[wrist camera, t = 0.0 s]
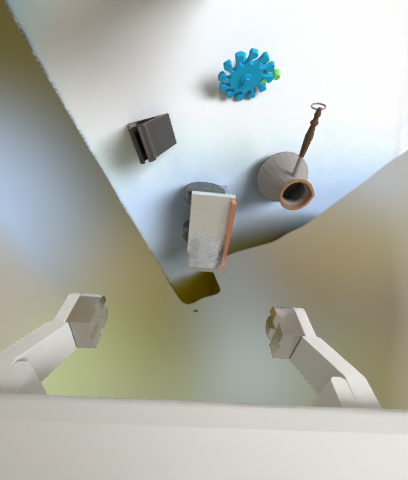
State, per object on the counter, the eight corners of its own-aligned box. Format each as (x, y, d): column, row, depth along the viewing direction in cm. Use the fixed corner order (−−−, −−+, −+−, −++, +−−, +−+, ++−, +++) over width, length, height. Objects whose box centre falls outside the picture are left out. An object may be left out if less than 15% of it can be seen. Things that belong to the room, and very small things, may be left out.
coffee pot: (297, 196, 60) (323, 226, 48) (252, 196, 60) (265, 227, 48) (319, 97, 48) (360, 103, 36) (262, 97, 48) (283, 104, 36)
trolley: (187, 175, 57) (182, 206, 43) (230, 179, 58) (239, 211, 44) (183, 229, 65) (178, 269, 52) (221, 232, 66) (227, 273, 52)
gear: (214, 102, 47) (225, 54, 38) (212, 77, 48) (221, 23, 39) (268, 103, 49) (291, 57, 39) (264, 78, 50) (286, 27, 40)
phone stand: (138, 152, 54) (123, 168, 44) (127, 123, 51) (109, 134, 41) (176, 142, 53) (170, 157, 43) (168, 113, 50) (160, 121, 40)
